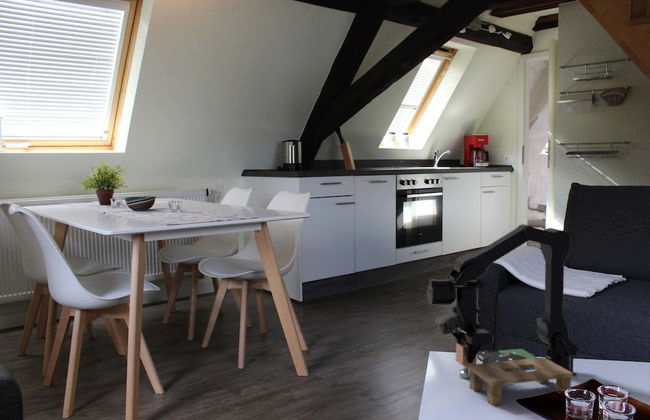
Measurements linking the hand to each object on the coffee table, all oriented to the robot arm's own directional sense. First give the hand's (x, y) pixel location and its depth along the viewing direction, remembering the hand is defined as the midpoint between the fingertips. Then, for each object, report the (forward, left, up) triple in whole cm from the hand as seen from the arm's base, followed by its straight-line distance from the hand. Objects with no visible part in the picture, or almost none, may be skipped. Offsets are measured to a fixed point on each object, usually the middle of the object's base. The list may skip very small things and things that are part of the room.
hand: (466, 360), depth 158 cm
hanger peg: (0, 0, -4) cm, 4 cm away
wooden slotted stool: (-8, +13, -4) cm, 16 cm away
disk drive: (-17, -7, -5) cm, 19 cm away
